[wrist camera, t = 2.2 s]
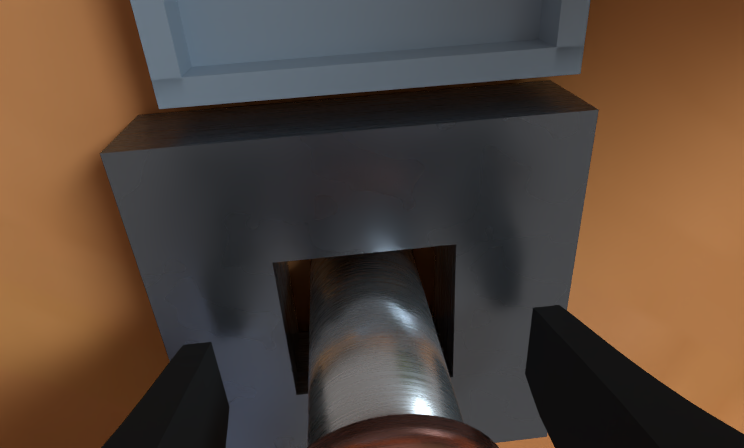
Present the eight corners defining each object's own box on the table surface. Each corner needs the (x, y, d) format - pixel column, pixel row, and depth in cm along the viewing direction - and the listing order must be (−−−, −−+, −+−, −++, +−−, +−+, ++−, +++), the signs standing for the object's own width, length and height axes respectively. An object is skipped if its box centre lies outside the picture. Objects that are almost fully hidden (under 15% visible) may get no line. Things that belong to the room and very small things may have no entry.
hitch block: (222, 408, 17) (209, 477, 15) (138, 115, 12) (99, 153, 10) (518, 375, 18) (546, 436, 15) (550, 80, 13) (599, 109, 11)
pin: (302, 328, 16) (291, 622, 9) (283, 213, 14) (251, 479, 7) (431, 315, 16) (515, 591, 9) (430, 199, 14) (536, 444, 7)
